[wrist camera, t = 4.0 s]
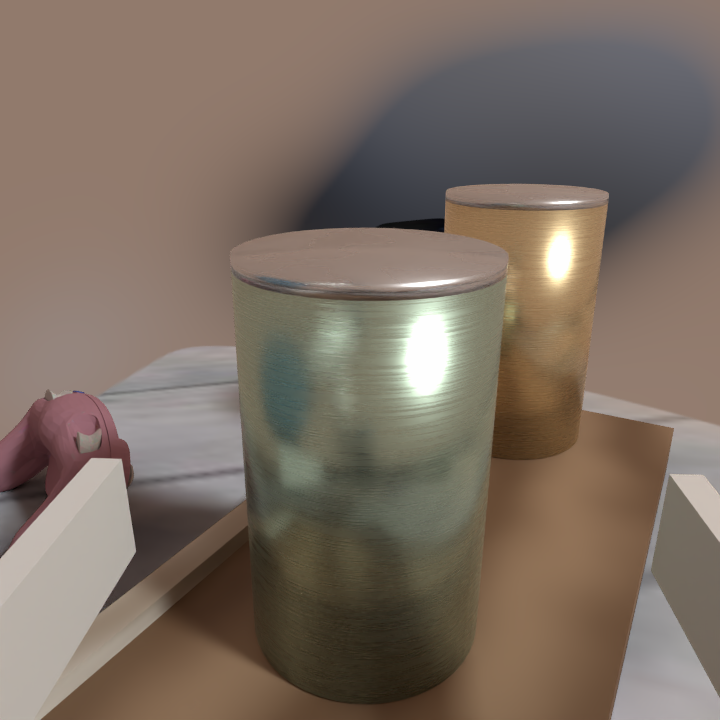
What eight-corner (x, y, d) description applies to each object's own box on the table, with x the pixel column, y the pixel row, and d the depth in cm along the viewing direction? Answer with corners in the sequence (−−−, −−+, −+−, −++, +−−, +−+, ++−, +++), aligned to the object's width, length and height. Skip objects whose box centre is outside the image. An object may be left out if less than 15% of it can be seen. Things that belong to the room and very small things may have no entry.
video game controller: (110, 587, 29) (162, 445, 29) (1, 587, 26) (57, 429, 26) (60, 491, 37) (100, 377, 36) (-29, 483, 34) (13, 359, 33)
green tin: (498, 701, 19) (544, 283, 14) (238, 706, 18) (203, 283, 14) (453, 531, 26) (474, 224, 22) (269, 532, 26) (253, 224, 22)
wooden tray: (-114, 881, 17) (-150, 795, 15) (411, 410, 43) (412, 366, 42) (448, 1448, 10) (460, 1368, 8) (666, 468, 36) (676, 416, 34)
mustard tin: (591, 413, 36) (621, 187, 32) (559, 473, 30) (591, 204, 26) (455, 386, 40) (464, 181, 36) (402, 435, 34) (407, 195, 30)
